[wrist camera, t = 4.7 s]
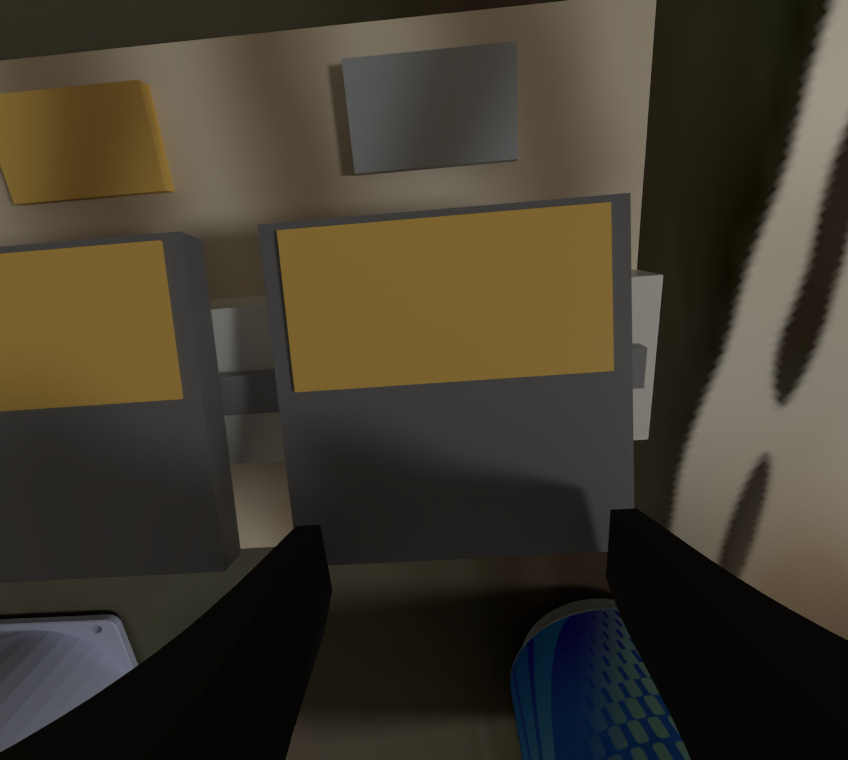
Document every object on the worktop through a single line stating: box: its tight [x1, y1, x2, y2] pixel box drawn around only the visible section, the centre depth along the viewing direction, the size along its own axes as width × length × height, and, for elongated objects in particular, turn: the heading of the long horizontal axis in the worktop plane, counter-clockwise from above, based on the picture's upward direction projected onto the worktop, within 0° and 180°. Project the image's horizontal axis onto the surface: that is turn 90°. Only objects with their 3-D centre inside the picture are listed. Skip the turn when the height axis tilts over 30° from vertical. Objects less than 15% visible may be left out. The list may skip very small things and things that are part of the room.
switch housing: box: [210, 269, 663, 464], centre depth 15 cm, size 22×5×4 cm, turn 95°
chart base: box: [0, 0, 656, 548], centre depth 16 cm, size 23×18×2 cm
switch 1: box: [0, 231, 241, 582], centre depth 12 cm, size 9×9×1 cm
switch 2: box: [258, 193, 634, 565], centre depth 12 cm, size 9×9×1 cm
